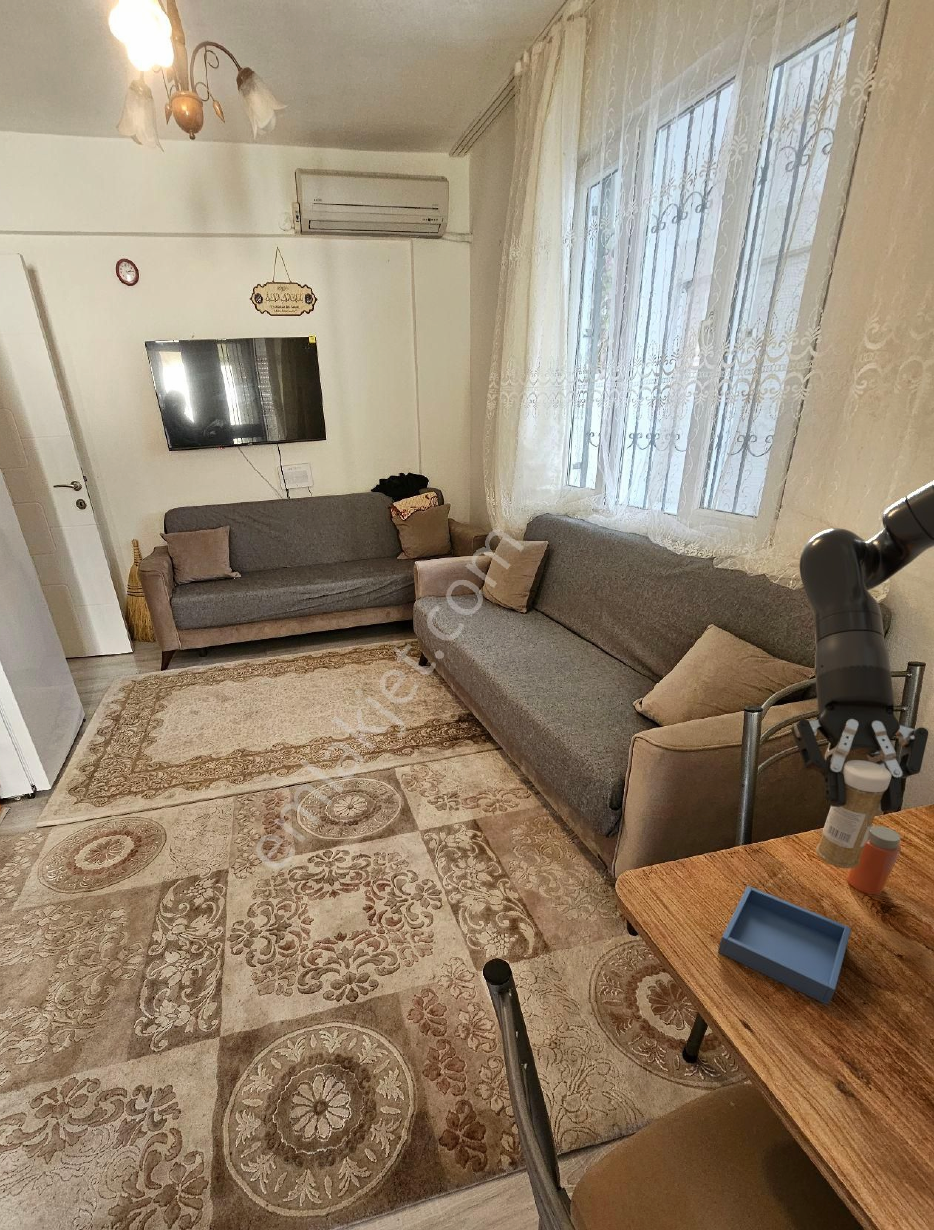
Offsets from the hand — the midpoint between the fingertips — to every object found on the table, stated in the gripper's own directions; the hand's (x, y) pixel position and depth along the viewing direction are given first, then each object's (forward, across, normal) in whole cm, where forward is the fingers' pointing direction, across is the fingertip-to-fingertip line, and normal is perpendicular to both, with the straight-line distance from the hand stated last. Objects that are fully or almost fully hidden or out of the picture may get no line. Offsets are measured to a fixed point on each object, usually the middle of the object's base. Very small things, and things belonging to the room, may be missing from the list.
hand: (864, 807), depth 68 cm
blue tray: (+17, -7, +6) cm, 19 cm away
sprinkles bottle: (+5, 0, +8) cm, 9 cm away
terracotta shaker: (+7, +6, +16) cm, 18 cm away
